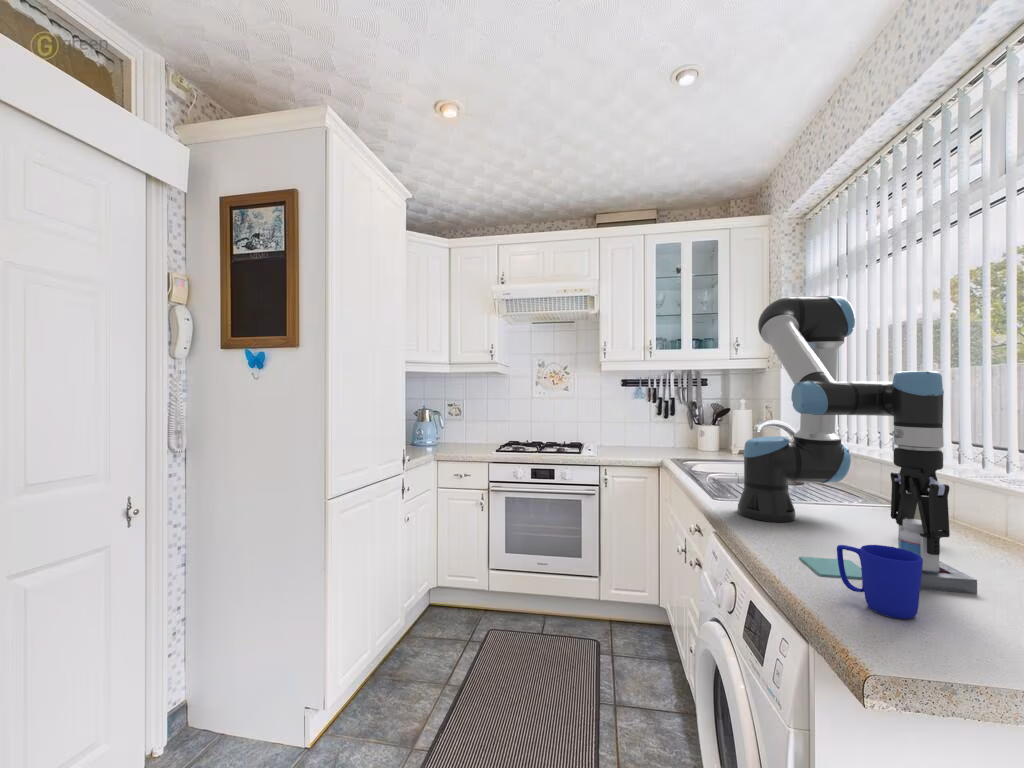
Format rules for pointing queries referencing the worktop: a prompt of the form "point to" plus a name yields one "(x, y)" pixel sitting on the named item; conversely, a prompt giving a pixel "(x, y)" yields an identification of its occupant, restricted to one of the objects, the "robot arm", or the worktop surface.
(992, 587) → the worktop surface
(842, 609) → the worktop surface
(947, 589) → the grey square frame
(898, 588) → the mug
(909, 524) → the pill bottle
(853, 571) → the mat
